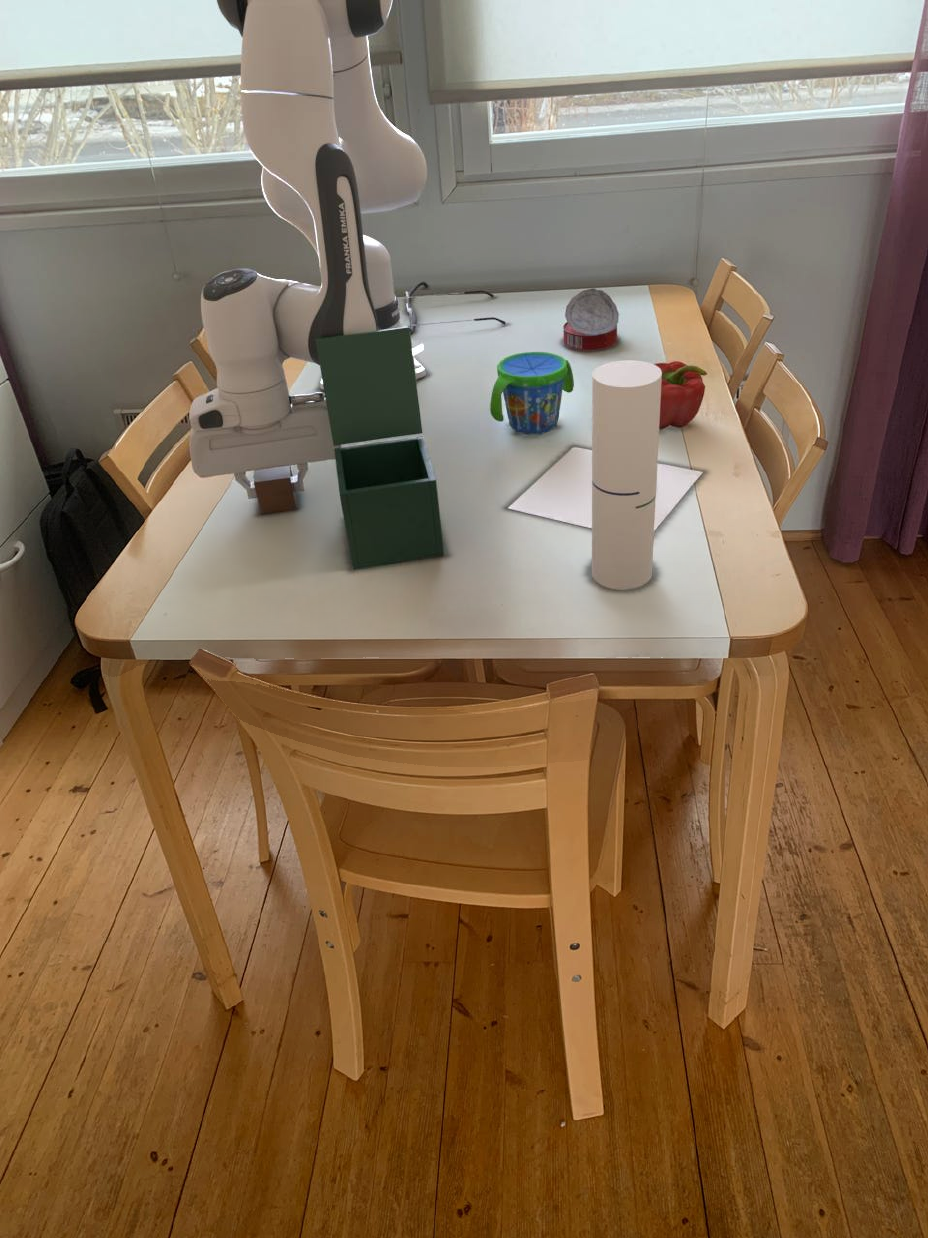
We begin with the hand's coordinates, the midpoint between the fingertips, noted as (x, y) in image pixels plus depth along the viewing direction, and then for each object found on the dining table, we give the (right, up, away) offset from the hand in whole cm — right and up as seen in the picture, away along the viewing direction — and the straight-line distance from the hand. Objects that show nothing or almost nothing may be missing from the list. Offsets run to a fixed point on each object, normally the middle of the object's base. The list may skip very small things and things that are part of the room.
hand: (276, 493), depth 132 cm
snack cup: (+37, +12, +15) cm, 42 cm away
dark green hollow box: (+17, -7, -9) cm, 21 cm away
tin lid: (+15, +11, -14) cm, 23 cm away
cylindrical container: (+45, -12, -19) cm, 51 cm away
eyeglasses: (+24, +44, +59) cm, 78 cm away
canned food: (+50, +34, +42) cm, 73 cm away
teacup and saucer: (+46, 0, -3) cm, 46 cm away
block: (0, -1, +1) cm, 2 cm away
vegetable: (+58, +12, +12) cm, 60 cm away
